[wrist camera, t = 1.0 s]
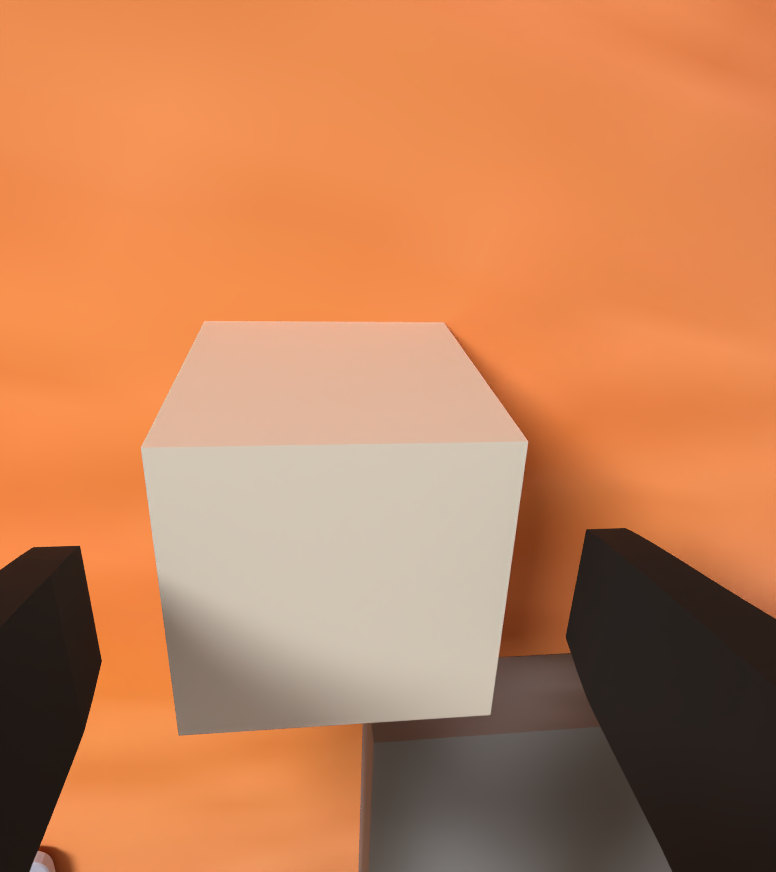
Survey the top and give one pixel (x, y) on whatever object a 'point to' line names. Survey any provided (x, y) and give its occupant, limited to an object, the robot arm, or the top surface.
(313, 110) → the top surface
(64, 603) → the robot arm
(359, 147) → the top surface
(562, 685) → the slate panel
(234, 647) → the cream block
